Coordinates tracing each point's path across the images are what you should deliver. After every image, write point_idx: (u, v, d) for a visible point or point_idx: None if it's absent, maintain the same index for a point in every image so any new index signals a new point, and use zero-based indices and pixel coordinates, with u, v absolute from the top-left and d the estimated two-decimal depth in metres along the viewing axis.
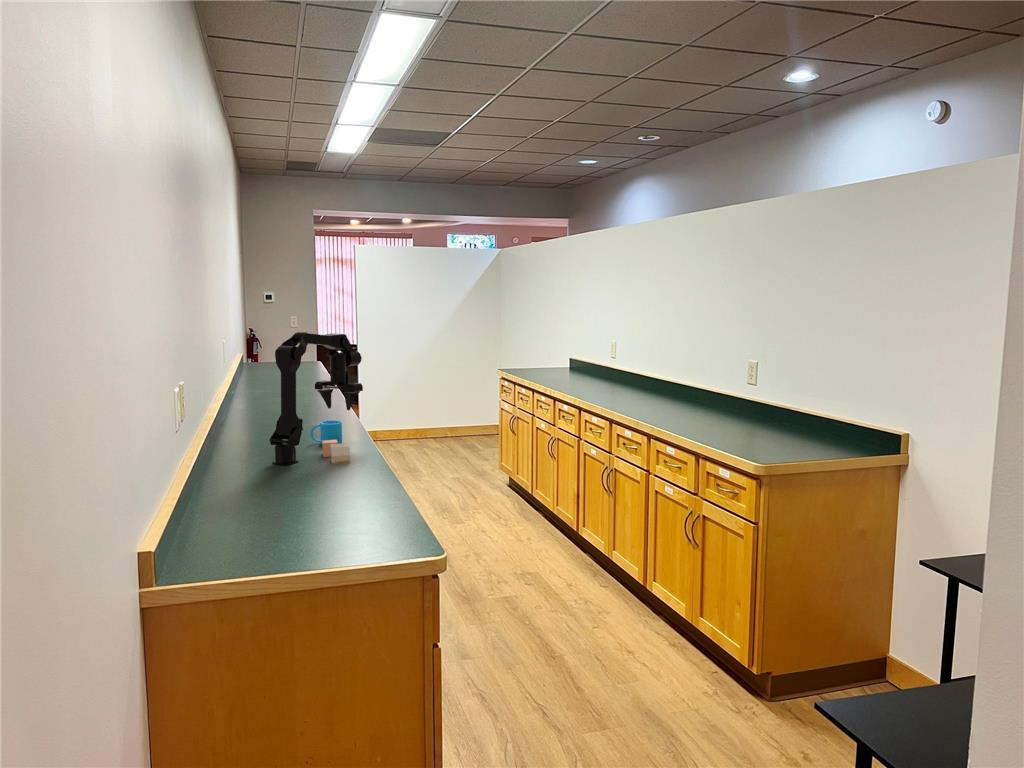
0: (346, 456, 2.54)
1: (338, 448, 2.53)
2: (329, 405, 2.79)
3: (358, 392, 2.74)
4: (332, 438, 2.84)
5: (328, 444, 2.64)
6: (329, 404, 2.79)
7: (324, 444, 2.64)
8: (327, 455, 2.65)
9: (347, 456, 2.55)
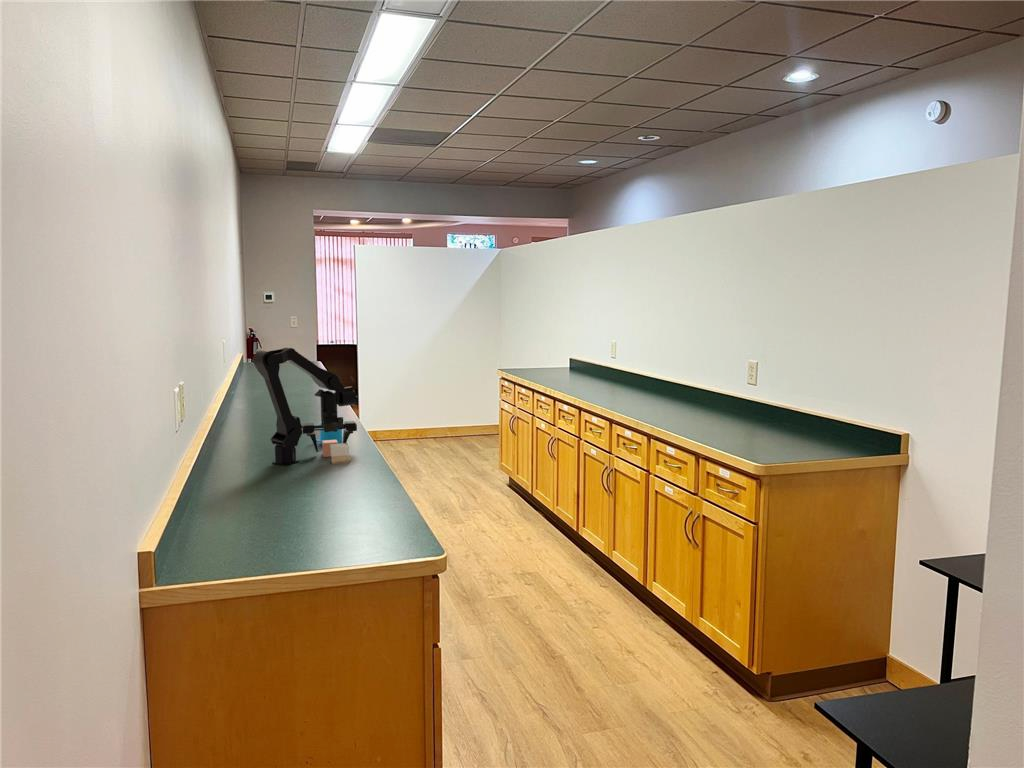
0: (346, 456, 2.55)
1: (337, 448, 2.53)
2: None
3: (306, 434, 2.62)
4: (332, 438, 2.84)
5: (328, 444, 2.64)
6: None
7: (324, 444, 2.64)
8: (327, 455, 2.65)
9: (347, 456, 2.55)
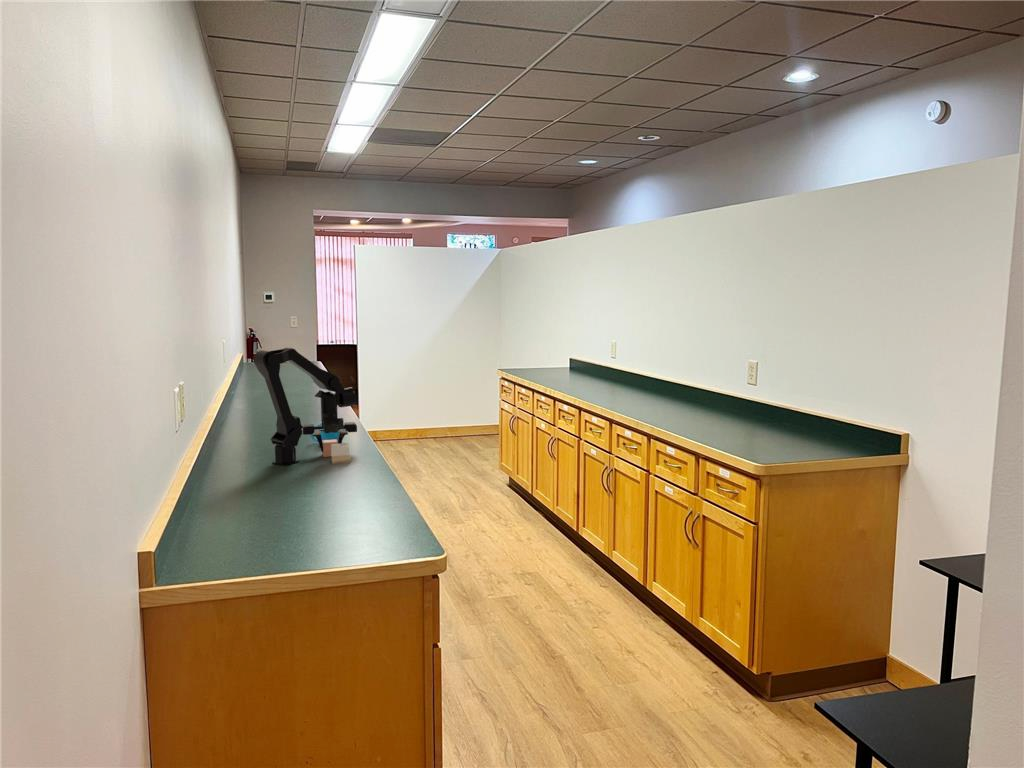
0: (346, 456, 2.55)
1: (338, 448, 2.53)
2: None
3: (312, 435, 2.63)
4: (332, 438, 2.84)
5: (328, 444, 2.64)
6: None
7: (324, 444, 2.64)
8: (327, 455, 2.65)
9: (347, 456, 2.55)
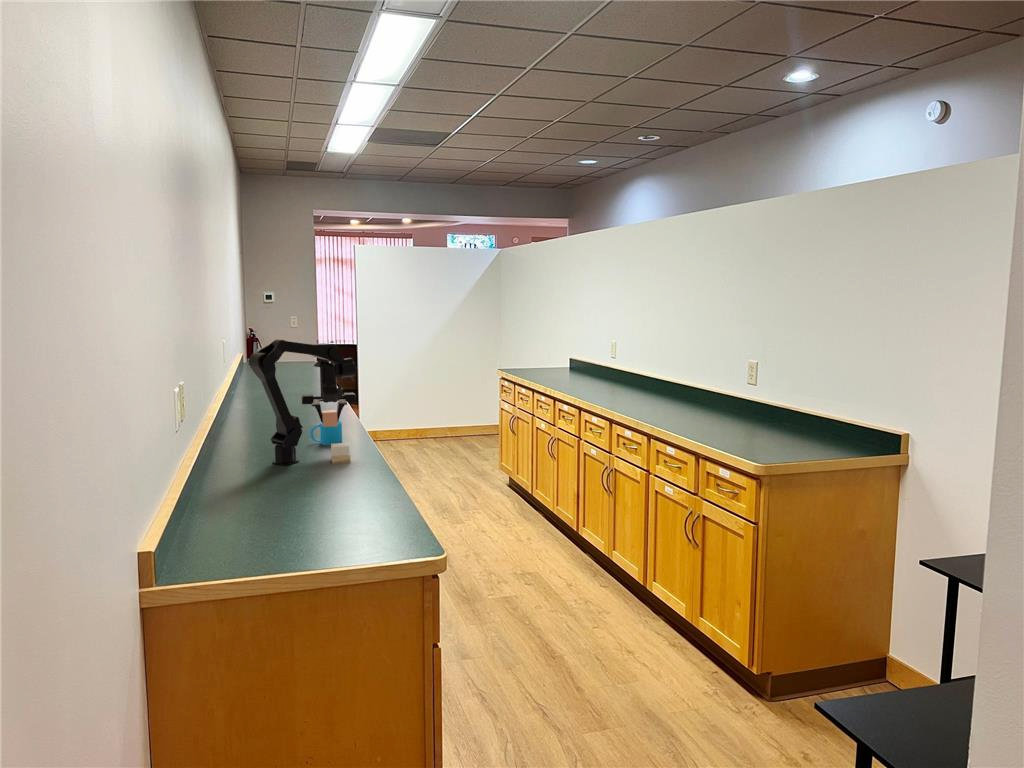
0: (346, 456, 2.55)
1: (338, 448, 2.54)
2: None
3: None
4: (332, 438, 2.84)
5: (327, 414, 2.63)
6: None
7: (323, 414, 2.62)
8: (326, 425, 2.63)
9: (347, 456, 2.55)
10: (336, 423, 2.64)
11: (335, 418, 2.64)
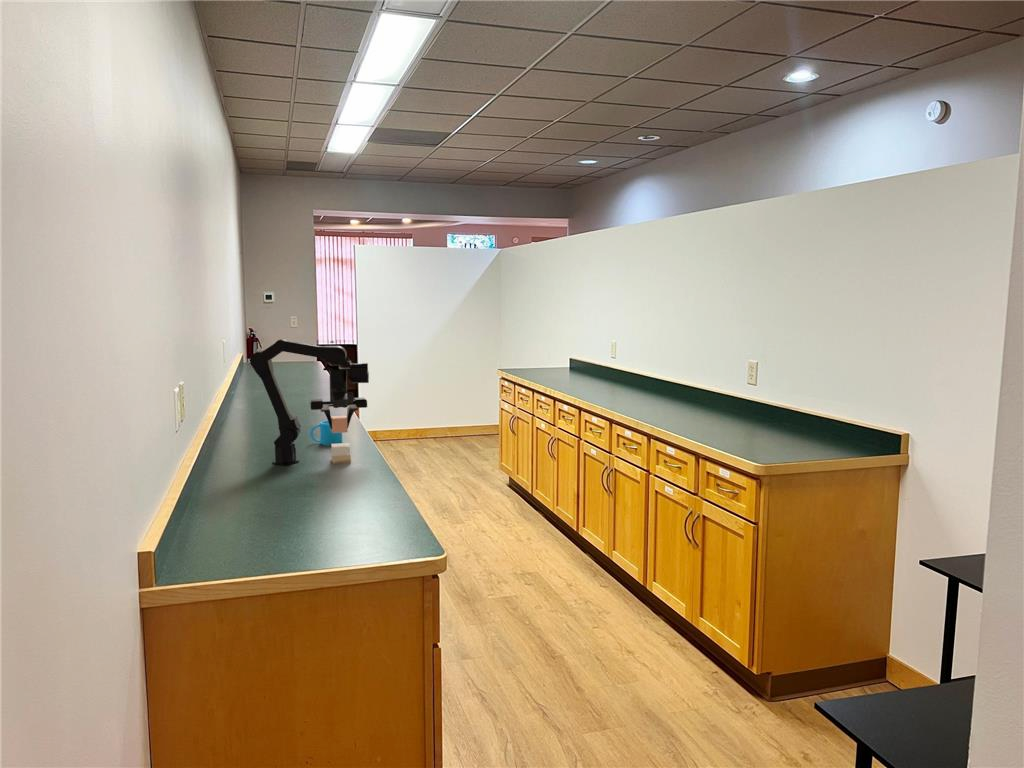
0: (347, 456, 2.55)
1: (338, 448, 2.53)
2: None
3: (320, 410, 2.51)
4: (332, 438, 2.84)
5: (337, 420, 2.53)
6: None
7: (333, 419, 2.52)
8: (336, 431, 2.53)
9: (348, 456, 2.55)
10: (346, 429, 2.54)
11: (345, 424, 2.54)
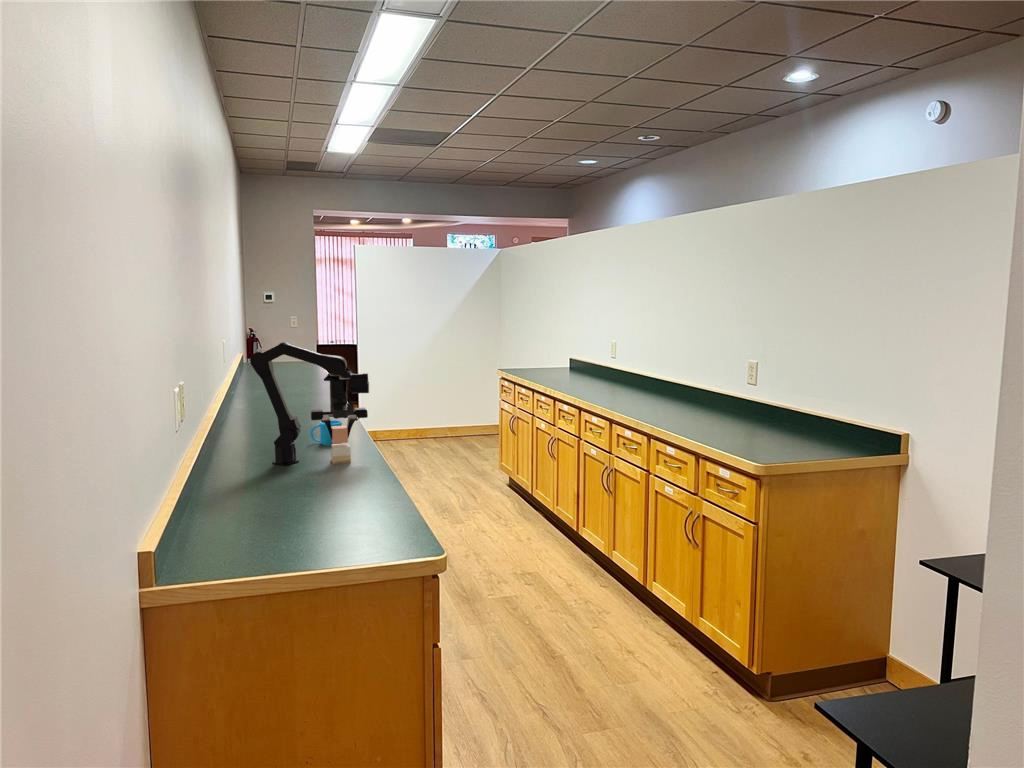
0: (347, 456, 2.55)
1: (339, 448, 2.53)
2: None
3: (321, 421, 2.52)
4: None
5: (337, 430, 2.53)
6: None
7: (333, 430, 2.53)
8: (336, 441, 2.53)
9: (348, 456, 2.55)
10: (346, 439, 2.54)
11: (345, 434, 2.54)
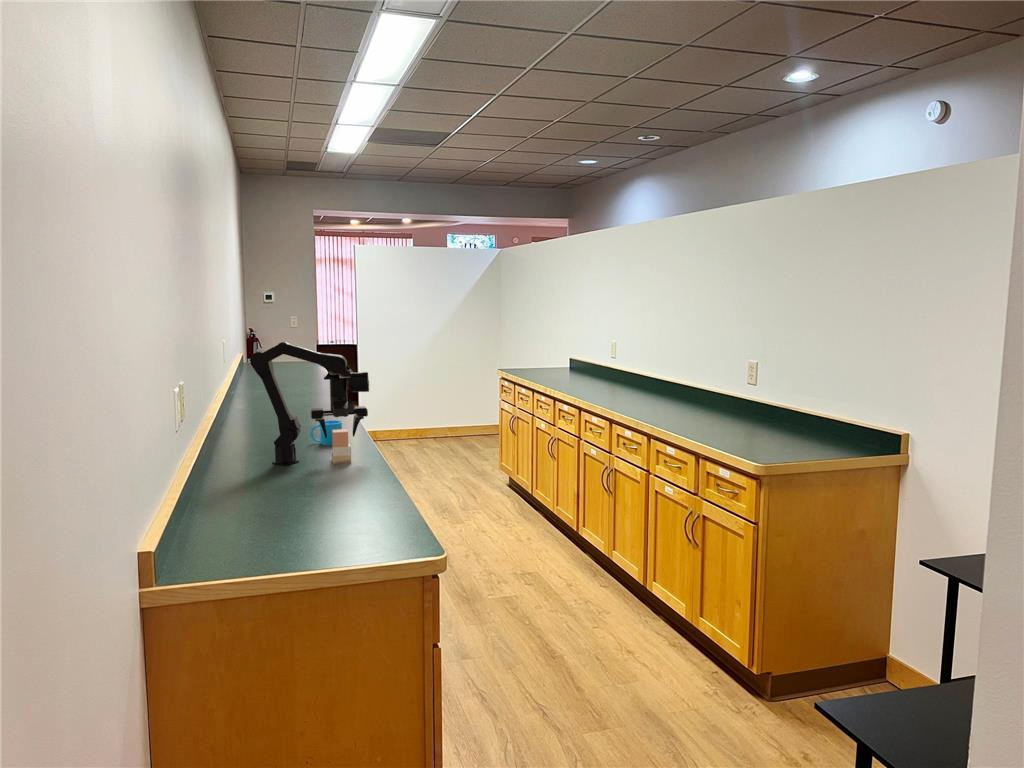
0: (347, 456, 2.55)
1: (339, 448, 2.54)
2: None
3: (315, 420, 2.51)
4: (332, 438, 2.84)
5: (338, 433, 2.53)
6: None
7: (334, 433, 2.53)
8: (337, 445, 2.54)
9: (348, 456, 2.55)
10: (347, 443, 2.55)
11: (346, 438, 2.54)
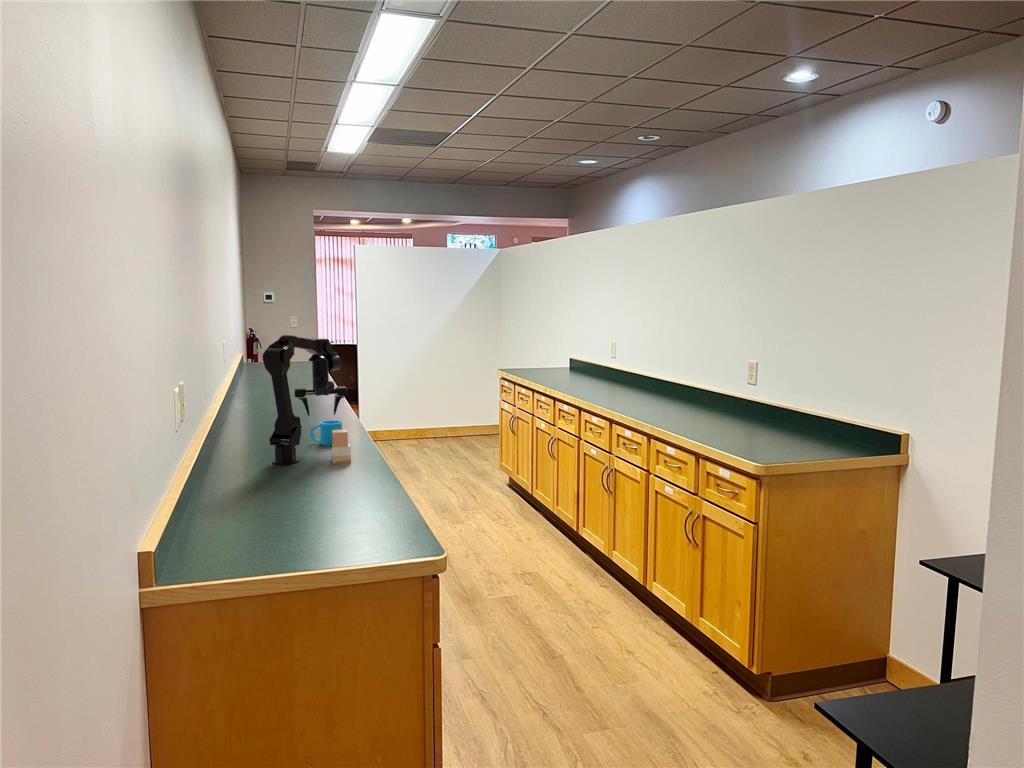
0: (347, 456, 2.55)
1: (339, 448, 2.54)
2: None
3: (298, 398, 2.69)
4: (332, 438, 2.84)
5: (337, 434, 2.53)
6: None
7: (333, 434, 2.53)
8: (336, 445, 2.54)
9: (348, 456, 2.55)
10: (346, 443, 2.54)
11: (345, 438, 2.54)
